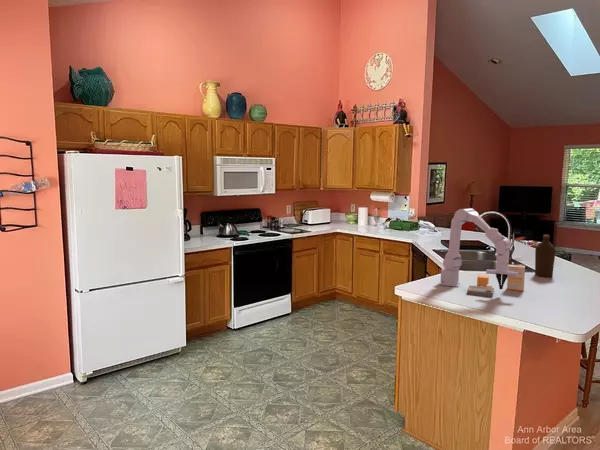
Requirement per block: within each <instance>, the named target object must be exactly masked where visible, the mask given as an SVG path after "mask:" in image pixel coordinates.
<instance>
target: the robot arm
mask: <svg viewBox="0 0 600 450" xmlns="http://www.w3.org/2000/svg"><path fill="white" fill-rule="evenodd" d="M450 222H451V223H450V233H449V244H448V252H447V253H446V254H444V255H445V256H444V259H443V260H442V265H443V267H442V268H441V270H440V284H439V285H440V286H448V287H456V288H457V287H459V286H460V284H461V283H460V281H459V279H460V277H459V275H460V273H459V272H460V267H461V266H462V265H463V260H462V255H461V254H460V245H461V236H462V225H464V224H466V222H470V223H474V224H475V225H477V227H479V228H480V229H481V230H482V231H484V234H485V237H486V238H488V240H489V241H491V243H492V244H494V247H495V249H496V261H495V269H486V270H485V274H486V275H489V274H490V275H495V278H496V280H497V282H498V288H499V290H503V288H504V285H505V283H506V282H507V277H508V275H509V276H516V277H518V272H513V271H508V267H509V265H510V263H509V261H510V249H511V248H512V245H513V243H512V241H511V239H510V238H508V237H505V235H502V233H500V232H499V229H498V228H494V227H491V226H490V225H489V224H488V223H487V222H486V221H485V220H484V218H482V217H481V216H480V214H479V212H478V211H476V210H475V209H474V208H472V207H469V208H459V209H458V210H456V211H455V212H454V215H453V218H451V221H450Z"/></svg>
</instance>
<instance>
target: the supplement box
mask: <svg viewBox="0 0 600 450" xmlns="http://www.w3.org/2000/svg"><path fill="white" fill-rule="evenodd" d="M508 271H513V272H518V277H516V276H509V275H508V277H507V279H506V290H508V291H519V292H524V291H525V279H526V277H525V275H526V265H520V264H519V265H517V264H509V267H508Z"/></svg>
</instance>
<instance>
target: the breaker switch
mask: <svg viewBox="0 0 600 450" xmlns="http://www.w3.org/2000/svg"><path fill="white" fill-rule="evenodd" d="M492 288H493V285H492V284H487V288H486V290H487V291H492Z"/></svg>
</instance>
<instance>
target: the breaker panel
mask: <svg viewBox="0 0 600 450" xmlns="http://www.w3.org/2000/svg"><path fill="white" fill-rule="evenodd" d="M486 288H487V287H483V286H480V287H479V286H477V285H469V286H468V288H467V291H466V293H467V294H466V295H470V294H472V295H473V296H479V295H480V296H481V297H487V296H488V297H489V298H494V293H495V287H492V291H487V290H486ZM472 295H471V296H472ZM480 296H479V297H480Z"/></svg>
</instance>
